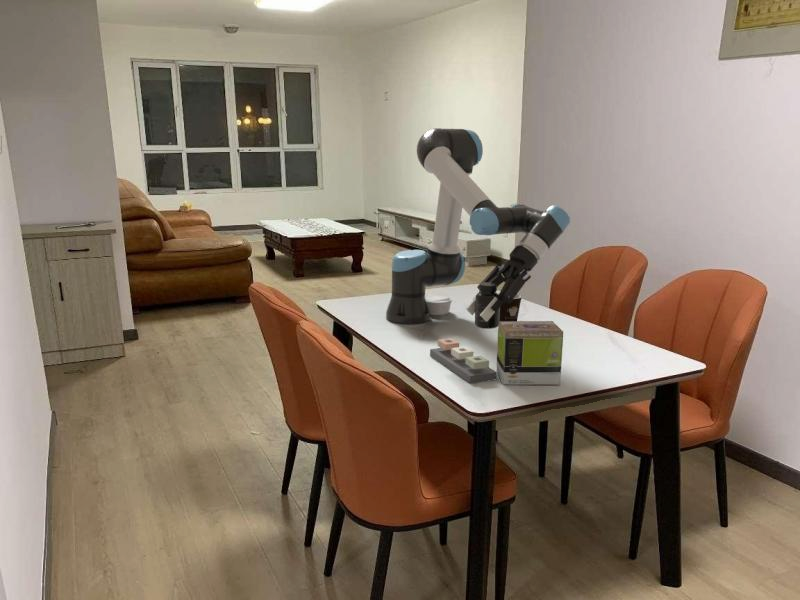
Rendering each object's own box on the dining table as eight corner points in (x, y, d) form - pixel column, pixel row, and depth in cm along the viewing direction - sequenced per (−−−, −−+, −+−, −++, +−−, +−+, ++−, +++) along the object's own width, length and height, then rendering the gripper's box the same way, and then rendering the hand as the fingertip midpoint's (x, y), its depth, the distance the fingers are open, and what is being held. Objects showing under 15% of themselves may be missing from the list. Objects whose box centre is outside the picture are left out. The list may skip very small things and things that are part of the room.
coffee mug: (518, 321, 221) (520, 293, 219) (520, 328, 213) (522, 299, 211) (485, 319, 222) (486, 291, 220) (485, 326, 214) (487, 297, 212)
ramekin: (446, 318, 224) (447, 303, 222) (416, 314, 227) (417, 300, 226) (454, 310, 234) (454, 296, 233) (425, 307, 237) (425, 293, 236)
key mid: (450, 354, 175) (451, 347, 175) (465, 352, 177) (465, 346, 176) (458, 359, 171) (459, 352, 171) (473, 357, 173) (473, 351, 173)
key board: (429, 355, 183) (430, 349, 183) (454, 352, 187) (454, 346, 186) (469, 383, 163) (470, 376, 163) (496, 379, 166) (496, 372, 166)
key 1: (437, 345, 182) (437, 339, 182) (451, 344, 184) (451, 337, 184) (445, 350, 178) (445, 344, 178) (459, 348, 180) (459, 342, 180)
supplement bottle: (480, 321, 182) (481, 280, 179) (502, 324, 179) (504, 282, 176) (470, 326, 176) (472, 284, 173) (493, 330, 173) (495, 287, 170)
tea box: (549, 372, 173) (554, 320, 169) (560, 386, 163) (565, 331, 159) (495, 371, 172) (498, 319, 168) (502, 385, 162) (505, 330, 159)
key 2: (465, 363, 168) (465, 356, 168) (479, 361, 170) (480, 355, 169) (473, 369, 164) (474, 362, 164) (488, 367, 166) (489, 360, 165)
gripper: (557, 267, 171) (504, 332, 168) (514, 256, 188) (465, 314, 185) (542, 249, 167) (487, 315, 165) (500, 239, 185) (450, 298, 182)
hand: (476, 315), depth 175 cm, fingers closed on supplement bottle, 7 cm apart
